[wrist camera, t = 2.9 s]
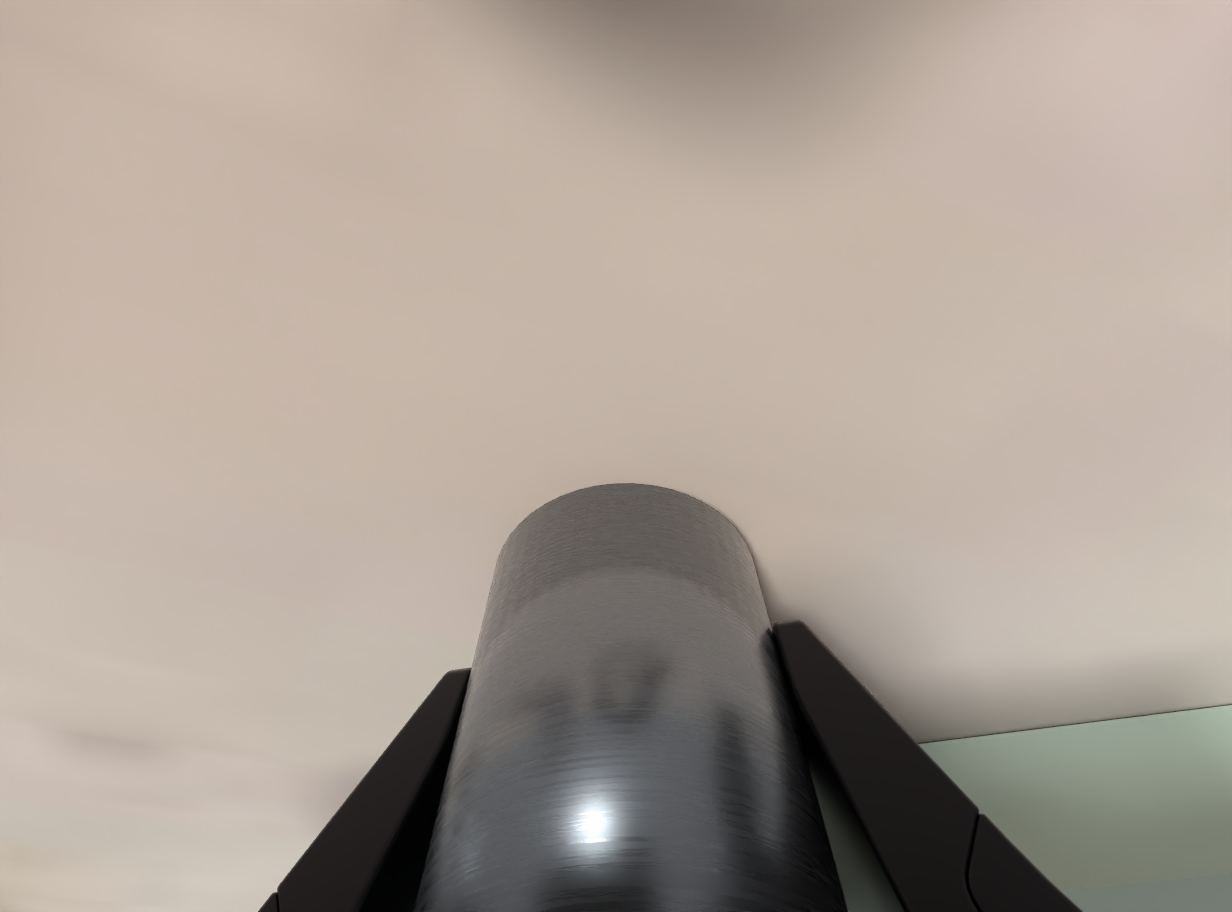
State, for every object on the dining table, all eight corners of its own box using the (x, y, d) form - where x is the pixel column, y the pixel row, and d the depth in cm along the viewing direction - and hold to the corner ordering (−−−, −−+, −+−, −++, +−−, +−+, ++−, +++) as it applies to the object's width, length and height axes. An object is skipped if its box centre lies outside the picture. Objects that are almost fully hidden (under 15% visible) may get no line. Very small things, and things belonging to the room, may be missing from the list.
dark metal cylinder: (741, 460, 10) (879, 912, 5) (767, 661, 12) (880, 1116, 7) (458, 510, 10) (296, 970, 5) (534, 693, 12) (475, 1141, 7)
